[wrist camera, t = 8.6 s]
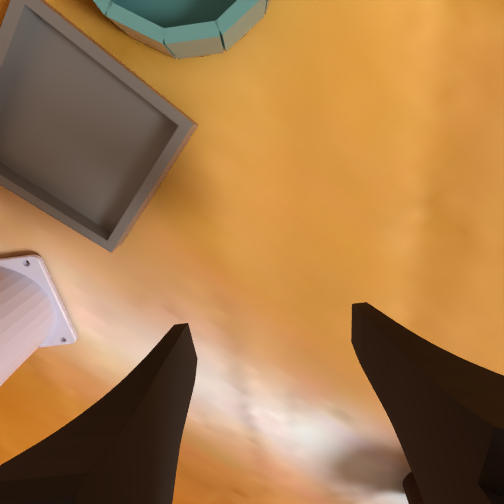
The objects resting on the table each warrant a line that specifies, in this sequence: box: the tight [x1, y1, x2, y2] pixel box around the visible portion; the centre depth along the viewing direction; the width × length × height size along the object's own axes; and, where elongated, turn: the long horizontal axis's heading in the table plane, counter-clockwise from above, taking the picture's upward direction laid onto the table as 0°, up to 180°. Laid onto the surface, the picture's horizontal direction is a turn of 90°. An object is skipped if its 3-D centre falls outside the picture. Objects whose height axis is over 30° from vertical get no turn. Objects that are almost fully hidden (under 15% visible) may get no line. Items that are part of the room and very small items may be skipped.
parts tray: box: [0, 0, 198, 252], centre depth 17 cm, size 10×10×2 cm
